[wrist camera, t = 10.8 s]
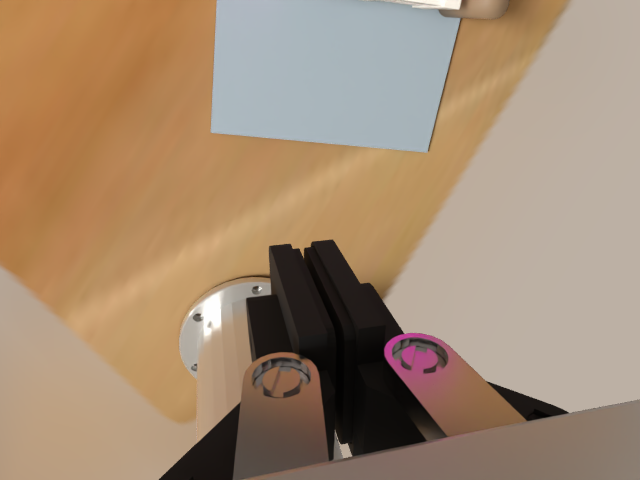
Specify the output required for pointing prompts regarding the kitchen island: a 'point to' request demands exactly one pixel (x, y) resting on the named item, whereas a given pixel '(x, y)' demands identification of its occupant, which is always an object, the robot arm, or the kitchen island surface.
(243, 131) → the mat
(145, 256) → the kitchen island surface
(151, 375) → the kitchen island surface
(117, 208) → the kitchen island surface
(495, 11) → the fixed panel and post
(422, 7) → the swing panel
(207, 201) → the kitchen island surface
